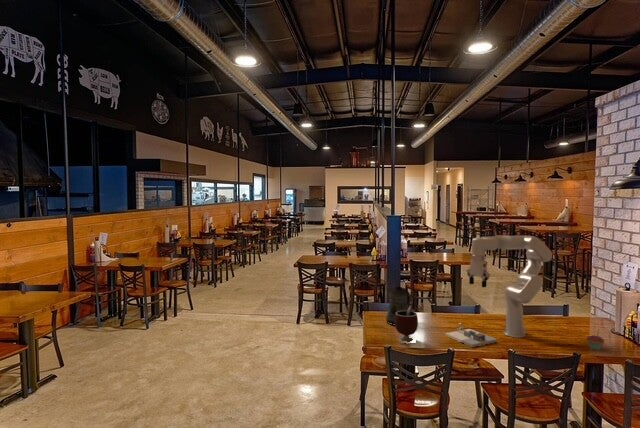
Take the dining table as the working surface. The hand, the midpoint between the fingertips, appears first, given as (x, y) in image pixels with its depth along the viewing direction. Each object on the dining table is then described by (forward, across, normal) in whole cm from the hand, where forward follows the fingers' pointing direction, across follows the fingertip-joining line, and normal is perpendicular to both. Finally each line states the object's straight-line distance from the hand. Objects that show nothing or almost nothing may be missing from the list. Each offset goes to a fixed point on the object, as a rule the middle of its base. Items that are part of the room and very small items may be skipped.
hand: (477, 285), depth 249 cm
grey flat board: (+33, +1, +4) cm, 34 cm away
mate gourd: (+35, +19, +39) cm, 56 cm away
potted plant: (+34, +51, +21) cm, 65 cm away
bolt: (+31, +7, +4) cm, 32 cm away
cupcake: (+32, -44, -46) cm, 71 cm away
